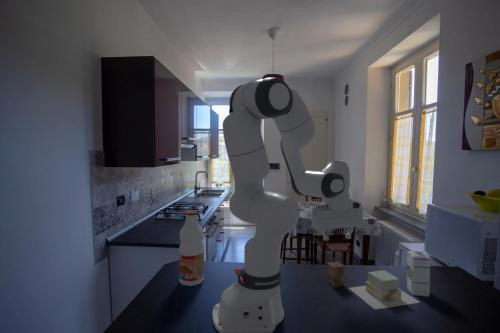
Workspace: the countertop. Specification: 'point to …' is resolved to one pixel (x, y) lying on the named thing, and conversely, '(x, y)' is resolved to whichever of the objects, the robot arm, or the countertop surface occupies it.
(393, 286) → the tower top
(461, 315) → the countertop surface
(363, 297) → the mat
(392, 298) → the tower base
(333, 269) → the walnut block
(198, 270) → the fruit juice
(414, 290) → the syrup box
